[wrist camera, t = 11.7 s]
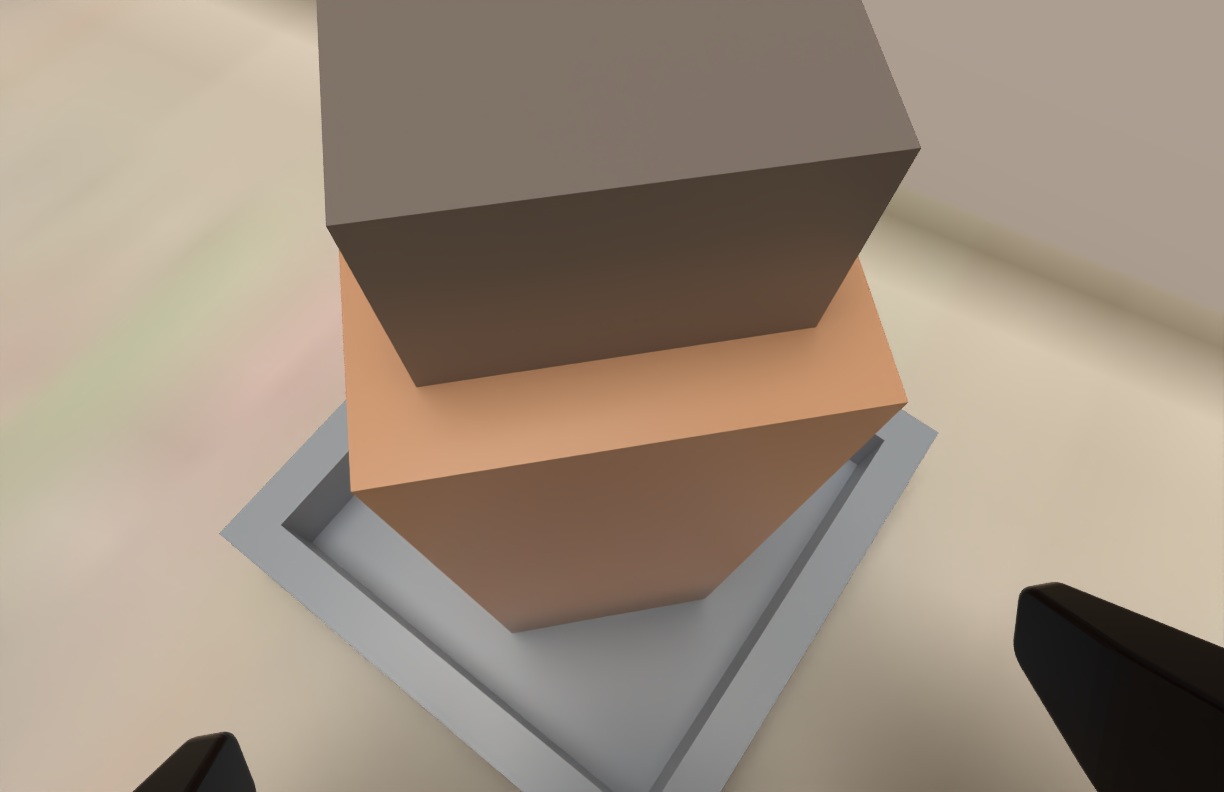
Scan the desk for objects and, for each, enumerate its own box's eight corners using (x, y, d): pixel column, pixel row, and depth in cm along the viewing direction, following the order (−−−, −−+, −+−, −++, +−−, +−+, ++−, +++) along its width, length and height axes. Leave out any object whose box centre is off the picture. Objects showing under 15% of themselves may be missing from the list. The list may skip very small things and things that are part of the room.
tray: (643, 871, 15) (653, 902, 12) (271, 557, 17) (219, 533, 14) (893, 468, 18) (938, 432, 15) (554, 246, 20) (548, 185, 17)
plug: (704, 598, 16) (1065, 249, 4) (511, 633, 15) (216, 375, 3) (657, 379, 18) (796, -331, 6) (484, 405, 17) (228, -291, 5)
